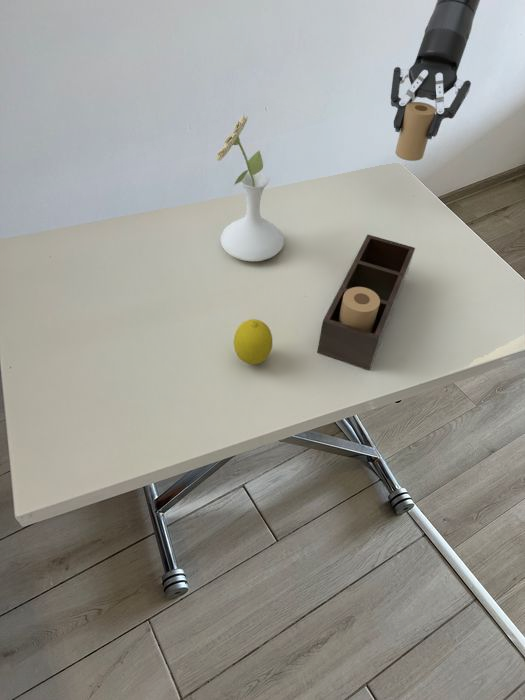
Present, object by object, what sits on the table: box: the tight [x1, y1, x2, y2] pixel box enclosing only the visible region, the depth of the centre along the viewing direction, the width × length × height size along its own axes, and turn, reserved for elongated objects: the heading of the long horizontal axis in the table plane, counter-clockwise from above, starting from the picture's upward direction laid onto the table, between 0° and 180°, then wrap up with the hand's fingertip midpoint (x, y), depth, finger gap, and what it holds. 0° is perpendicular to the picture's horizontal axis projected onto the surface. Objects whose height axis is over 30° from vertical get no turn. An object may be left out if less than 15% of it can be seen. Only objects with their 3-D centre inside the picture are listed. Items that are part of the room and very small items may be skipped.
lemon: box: [233, 318, 273, 365], centre depth 76 cm, size 6×6×8 cm
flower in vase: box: [216, 113, 285, 262], centre depth 87 cm, size 13×11×25 cm
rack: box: [316, 234, 416, 371], centre depth 84 cm, size 23×8×7 cm, turn 156°
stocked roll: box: [338, 287, 380, 333], centre depth 78 cm, size 5×5×9 cm
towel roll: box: [394, 101, 436, 162], centre depth 96 cm, size 5×5×9 cm
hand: (413, 133), depth 95 cm, fingers closed on towel roll, 5 cm apart
